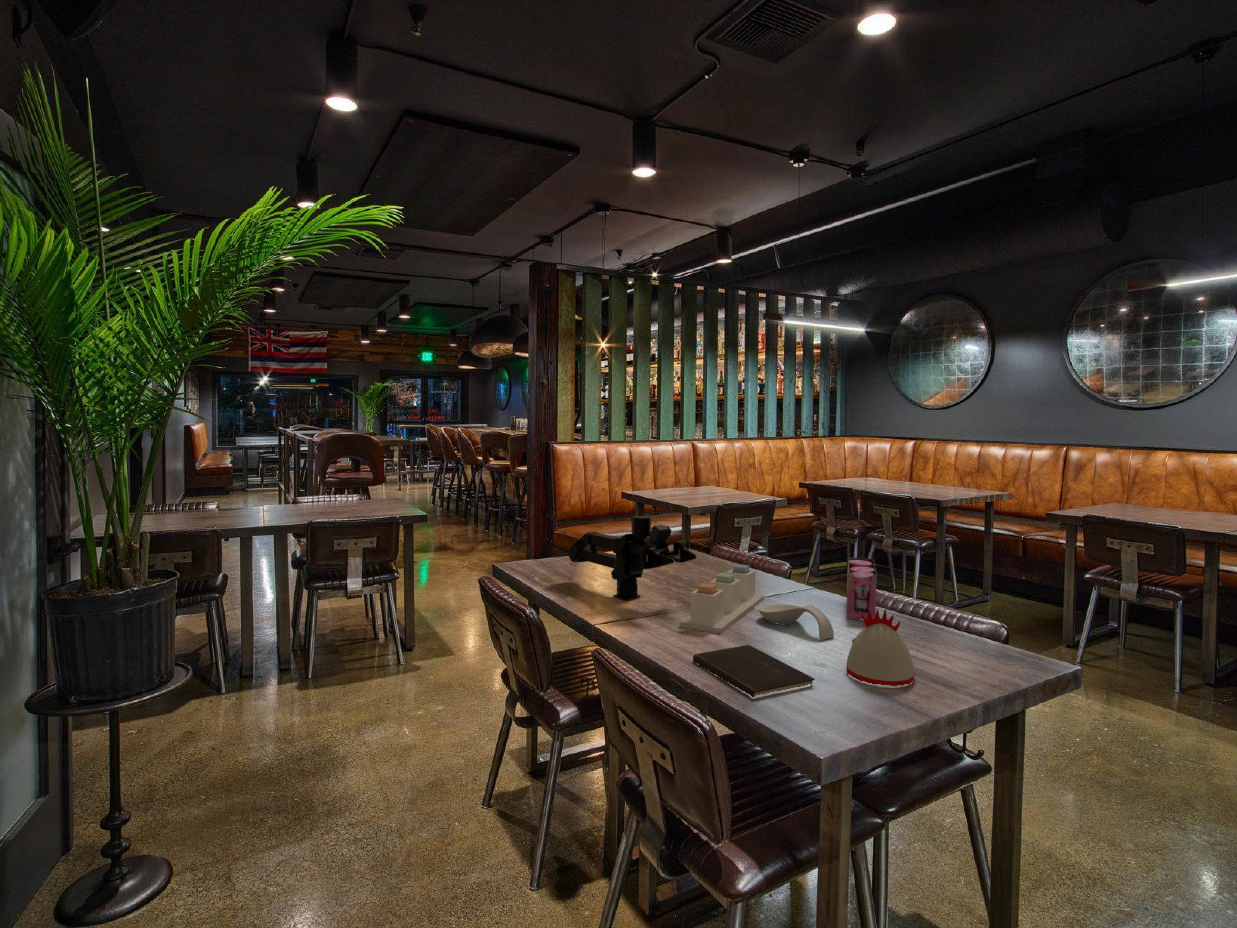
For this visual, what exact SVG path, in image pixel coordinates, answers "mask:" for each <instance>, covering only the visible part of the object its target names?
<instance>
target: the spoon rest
mask: <svg viewBox="0 0 1237 928" xmlns="http://www.w3.org/2000/svg"><path fill="white" fill-rule="evenodd" d="M758 612H759V613H760V615H761V616H762V617H763V618H764V619H765V620H767V621H768V622H770V623H771V622H773V623H772V624H774V623H778V624H790V623H792V624H793V623H795V622H796V621H797V620H799V619H800V618H801V616H802V615H803V614H804V613H806V612H807V613H808V614H810V615H812V616H813V618H815V620H816V622H817V625H818V632H819V633H818V635H819V636H818V638H819V640H820V641H825V639H826V640H829V638H831V639H833V638H834V637H835V634H834V633H835V632H834V629H833V626H832V623H831V620H829V618H828V617H827V615H826V613H824V612H823V611H822V610H821V609H820V608H818V607H816V606H815V605H805V606H798V605H793V604H785V603H775V604H768V605H767V604H766V605H763V606H760V607H758ZM778 624H777V625H778ZM790 625H791V624H790Z"/></svg>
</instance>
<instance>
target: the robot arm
mask: <svg viewBox="0 0 1237 928" xmlns="http://www.w3.org/2000/svg"><path fill="white" fill-rule="evenodd" d="M630 521H631V533H625V534H624V535H623V536H613V535H610V534H605V533H600V532H597V531H590V532H585V533H584V534H582V536H581V537H580V538H579V539H578V540H577V541H575V542H574V543H573V544H572V545H571V546H570V548H569V550H568V553H567V554H568V555H567V556H568V559H570V561H571V562H572V563H585V562H587V563H593V564H596V565H599V566H602V567H607V568H610V569H612V571H611V573H610V574H611V579H612V580H615V581H616V594H613V595H612V597H613V598H615V599H620V600H623V601H629V600H635V599H639V598H641V595H639V594H638V578H642V576H643V573H644V570H652V569H655V568H660V567H663V566H668V565H672V564H674V563H675V562H676V563H680V564H681V563H686V562H690V561H693V560H696V559H697V555H696V554H695V553H694V552H692V551H691V550H690V543H689V541H687V540H679V541H678V540H677V541H675V542H674V543H673V546H672V547H673V549H672V550H670V549H669V546H670V544H669V543H670V542H669V541H668V538H670V537H671V535H672V528H670V526H669V525H665V524H664V525H663V524H655V525H653V526H652V516H650V515H643V516H642V515H632V516H631V517H630ZM646 539H649V541H648V540H646ZM598 548H604V549H608V550H611V551H612V553H609V552H605V551H601V550H597V549H598Z"/></svg>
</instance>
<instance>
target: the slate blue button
mask: <svg viewBox="0 0 1237 928" xmlns="http://www.w3.org/2000/svg"><path fill="white" fill-rule="evenodd" d="M732 569H733V572H734V573H743V574H747V573H749V570H750V564H749V565H746V564H741V563H737V564H735V565H733V566H732Z"/></svg>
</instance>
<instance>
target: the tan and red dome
mask: <svg viewBox="0 0 1237 928" xmlns="http://www.w3.org/2000/svg"><path fill="white" fill-rule="evenodd" d="M861 617H862V619H863V620H862V621H863V623H864V625H865V627H864V628H863V629H862V630H861V631H859V633H858V634H857V635H856V636H855V637H854V638H853V639H852V640H851V643H852V644H851V646H850V649H849V652H848V655H847V659H846V670H845V671H847V673H848V674H849V675H851V676H852V677H854V678H856V679H858V680H860V681H865V682H868V683H872V684H881V685H890V686H891V685H892V686H897V685H904V684H910V683H911V682H912V681H913V680H914V681H915V669H914V664H913V659H912V657H911V654H910V653H911V652H910V650H909V647H908V645H907V643H906V642H905V640H904V638H903V637H902V635H901V634H900V633H899V632H898V629H899V627H900V625H901V620H899V621H897V624H895V625H893V620H894V617H895V616H894V614H892V615H891V616H890V617H889V619H888V618H887V617H888V615H887V610H886V608H885V609H884V610H883V613H882V617H880V611H879V608H876V614H875V618H873V617H872V615H871V612H870V609H869V608H868V616H867V618H865V617H864V616H863V614H862V613H861ZM847 673H846V674H847ZM848 674H847V675H848Z"/></svg>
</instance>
